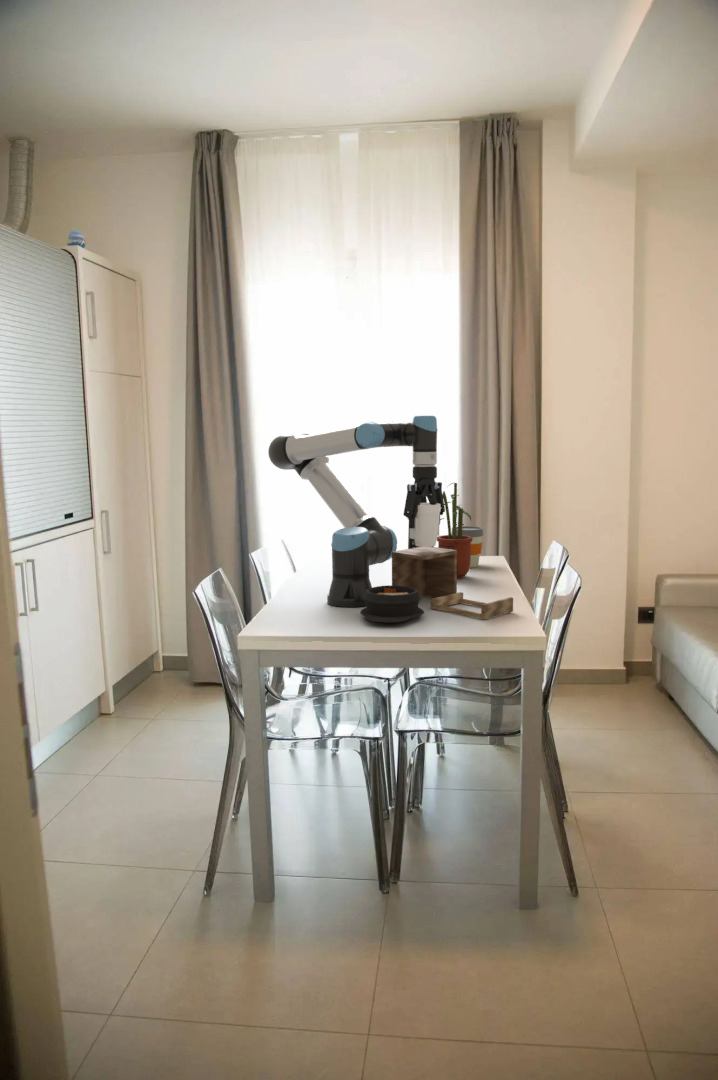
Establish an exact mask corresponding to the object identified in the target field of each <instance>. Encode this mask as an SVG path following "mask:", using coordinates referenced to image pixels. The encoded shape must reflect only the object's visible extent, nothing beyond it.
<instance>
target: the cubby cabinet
mask: <svg viewBox="0 0 718 1080" xmlns="http://www.w3.org/2000/svg"><path fill="white" fill-rule="evenodd" d="M457 580H458V579H457V550H452V549H444V548H438V546H437V547H435V546H434V547H418V548H412V549H408V548H407V549H401V550H396V551H393V552H392V558H391V586H392V585H393V586H407V587H412V588H415V589H417V590H418V593H419V595H420V596H421V598H422V597H426V596H428V597H432V598H437V597H441V596H446V595H450V594H454V593H458V592H457V591H458V590H457V587H458V585H457V584H458V581H457Z"/></svg>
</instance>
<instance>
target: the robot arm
mask: <svg viewBox="0 0 718 1080" xmlns="http://www.w3.org/2000/svg"><path fill="white" fill-rule="evenodd" d="M437 420H438V419H437V417H436V416H434V415H414V416H413V417H412V420H411V421H409V422H408V421H407V422H405V421H404V422H402V421H398V422H397V421H392V422H391V421H384V422H374V421H368V422H363V423H361V424H359V425H354V426H349V427H348V426H347V427H344V428H343V427H342V428H338V429H334V430H327V431H323V432H318V433H313V434H309V433H302V434H283V435H279V436H277V437H275V438H274V439H272V440H271V442H270V444H269V447H268V453H267V454H268V458H269V460H270V462H271V463H272V465H274V466H275V467H276V468H278V469H281V470H287V471H288V470H290V471H291V470H294V471H295V472H296V473H297V474H298V476H299V477H300V478H301V479H302V480H307V481H309V483H310V484H311V485H312V487H313V488H314V489H315V491H316V492H317V494H319V496H320V497H321V499H322V500H323V501H324V502H325V504H326V505H327V507H328V508H329V509H330V510H331V512H332V513H333V514H334V516H335V517H336V518H337V520H338V521H339V522H340V524H341V525H342V526H343V527H342V528H341V529H340V528H339V529H338V530H335V532H333V533H332V538H331V559H332V561H331V562H332V563H331V564H332V569H331V570H332V572H331V573H332V577H331V578H332V580H331V584H330V588H329V590H328V591H329V593H328V594H327V597H326V600H327V604H328V605H329V606H334V607H340V608H341V607H342V608H358V607H359V608H360V607H366V602H365V600H364V599H363V597H364V596H365V594H366V591H367V590H368V589H370V588H373V587H372V582H371V579H370V566H374V565H377V564H382V563H383V564H384V562H387V561H389V560H390V559H392V552H393V551H397V549H398V539H397V536H396V533H395V532H394V531H393V529H392V528H390V527H388V526H385V525H382V524H381V523H380V522H379V521H378V520H377V518H376V517H375V516H369V515H368V514H367V513H366V512H365V510H364V509H363V508H362V507H361V505H360V503H358V501H357V500H356V499H355V497H354V496H353V495H352V494H351V492H350V491H349V490H348V488H347V487H346V486H345V484H344V483H343V482H342V481H341V479H340V478H339V476H337V474H336V473H335V472H334V470H333V469H332V468H331V466H330V465H329V460H330V459H329V456H333V455H339V454H340V455H341V454H345V453H350V452H356V451H362V450H368V449H375V448H386V447H387V448H388V447H389V448H390V447H392V448H393V447H412V464H413V465H414V466H413V467H412V478H413V479H414V482H413V484H411V483H408V484H406V485H407V486H406V489H407V492H406V497H405V498H406V499H405V504H404V510H403V516H404V517H406V518H407V519H408V518H409V520H408V529H409V528H410V538H411V539H418V518H415V517H416V515H417V512H418V505H420V503H421V500H422V499H423V498H424V496H426V499H427V501H428V503H430V504H431V505H436V503H439V504H441V512H440V515H439V523H438V532H437V537H438V536H440V525H441V520H440V519H441V516H443V515H444V513H446V509H445V505H444V504H445V503H444V499H443V490H442V489H443V488H442V487H443V483H442V482H441V481H436V480H435V479H437V476H438V467H437V466H436V465H437V463H438V462H437V461H438V459H437V457H438V454H437V452H438V450H437V448H438V447H437V445H438V431H439V430H438V421H437ZM412 513H413V514H412Z"/></svg>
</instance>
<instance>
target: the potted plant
mask: <svg viewBox="0 0 718 1080" xmlns="http://www.w3.org/2000/svg"><path fill="white" fill-rule="evenodd" d="M451 485H453V487H454V488H453V494H450V497H451V498H450V499H452V500H451V501H448V499H447V495H446V492H445V490H442V495H443V501H444V507H445V515H446V518H445V517H441V518H440V521H442V520H444V519H446V523H447V532H448V533H447V534H445V535H444V534H443V535H439V536H437V540H436V542H438V545H437V548H444V549H452V550H457V580H458V579H459V580H460V579H463V578H464V577H466V575H467V574H468V572H469V571H470V568H469V567H470V559H471V542H472V540H473V537H471V536H465V535H462V526H465V524H464V523H463V521H464V520H463V516H464V514H465V515H466V516H467V517H468V518H469V521H472V516H471V515H470V514H469V513H468V512H467V511H465V510H464V508H463V507H461V505H459V504H458V501H457V500H458V497H459V495H460V494H458V483H456V482H452V483H449V486H451ZM447 488H448V486H447V487H446V488H445V489H447ZM450 503H451V505H452V506H451V512H452V513H451V514H452V517H451V518H452V519H451V518H450V511H449V510H450V509H449V505H448V504H450ZM457 518H458V519H457ZM451 520H452V527H451ZM456 527H458V535H456ZM452 528H453V535H451V532H452Z"/></svg>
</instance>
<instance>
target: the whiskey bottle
mask: <svg viewBox="0 0 718 1080" xmlns="http://www.w3.org/2000/svg"><path fill="white" fill-rule="evenodd" d="M421 503H428V499H427V497H426V496H424V498H423V499H422V500H421ZM407 520H408V521H409V518H408V517H407ZM407 533H408V538H407V539H408V540H407V549H412V548H418V547H420V546H416V544H415V539H411V538H410V528H409V527H408V531H407ZM430 547H435V546H430Z"/></svg>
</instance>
